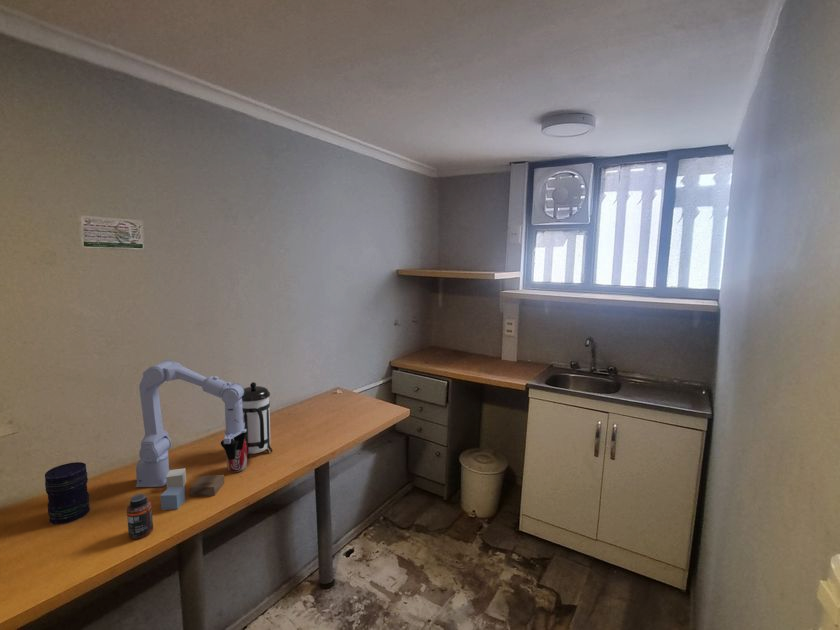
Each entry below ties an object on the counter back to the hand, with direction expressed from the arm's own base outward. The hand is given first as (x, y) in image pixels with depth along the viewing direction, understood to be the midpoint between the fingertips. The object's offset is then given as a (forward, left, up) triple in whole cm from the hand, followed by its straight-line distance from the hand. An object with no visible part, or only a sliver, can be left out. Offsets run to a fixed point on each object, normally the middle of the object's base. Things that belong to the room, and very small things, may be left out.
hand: (235, 454), depth 148 cm
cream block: (-20, -3, -10) cm, 22 cm away
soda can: (-3, +8, -10) cm, 14 cm away
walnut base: (-8, -6, -10) cm, 14 cm away
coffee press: (0, +22, -10) cm, 25 cm away
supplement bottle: (-17, -29, -10) cm, 35 cm away
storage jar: (-44, -19, -10) cm, 49 cm away
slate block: (-15, -15, -10) cm, 23 cm away
